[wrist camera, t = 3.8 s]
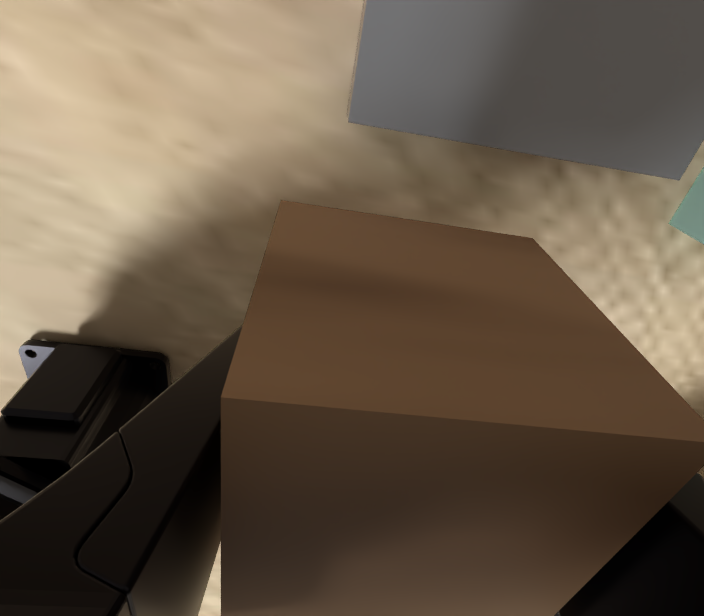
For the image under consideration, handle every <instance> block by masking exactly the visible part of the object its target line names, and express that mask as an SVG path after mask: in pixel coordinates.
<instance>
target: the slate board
mask: <svg viewBox="0 0 704 616" xmlns="http://www.w3.org/2000/svg"><path fill="white" fill-rule="evenodd" d="M347 118H348V122H350V123H356V124H361V125H367V126H373V127H378V128H384V129H390V130H395V131H401V132H407V133H413V134H418V135H424V136H430V137H435V138H441V139H447V140H452V141H458V142H464V143H469V144H475V145H481V146H486V147H492V148H498V149H504V150H509V151H515V152H521V153H526V154H532V155H538V156H543V157H549V158H555V159H560V160H566V161H572V162H577V163H583V164H589V165H595V166H600V167H606V168H612V169H617V170H623V171H629V172H634V173H640V174H646V175H651V176H657V177H663V178H668V179H674V180H680V179H681V177H682V175H683V174H684V172H685V170H686V169H687V167H688V165H689V164H690V162H691V160H692V158H693V157H694V155H695V153H696V152H697V150H698V148H699V147H700V145H701V143H702V142H703V140H704V0H364V3H363V10H362V16H361V23H360V30H359V36H358V43H357V50H356V56H355V63H354V70H353V77H352V83H351V90H350V97H349V103H348V110H347Z"/></svg>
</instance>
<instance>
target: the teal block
mask: <svg viewBox="0 0 704 616" xmlns="http://www.w3.org/2000/svg"><path fill="white" fill-rule="evenodd" d="M669 224H670V225H672V226H673V227H675V228H677V229H678V230H680V231H682V232H683V233H685V234H687V235H689V236H690V237H692V238H694V239H695V240H697V241H699V242H700V243H702V244H704V167H703V169H702V170H701V172H700V174H699V175H698V177H697V178H696V180H695V182H694V183H693V185H692V187H691V188H690V190H689V191H688V193H687V195H686V196H685V198H684V199H683V201H682V203H681V204H680V206H679V208H678V209H677V211H676V212H675V214H674V216H673V217H672V219H671V220H670V222H669Z"/></svg>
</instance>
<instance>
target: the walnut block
mask: <svg viewBox="0 0 704 616" xmlns="http://www.w3.org/2000/svg"><path fill="white" fill-rule="evenodd" d="M703 466H704V420H703V419H702V418H701V417H700V416H699V415H698V414H697V413H696V412H695V411H694V410H693V409H692V408H691V407H690V405H689V404H688V403H687V402H686V401H685V400H684V399H683V398H682V397H681V396H680V395H679V394H678V393H677V392H676V391H675V389H674V388H673V387H672V386H671V385H670V384H669V383H668V382H667V381H666V380H665V379H664V378H663V377H662V376H661V375H660V374H659V372H658V371H657V370H656V369H655V368H654V367H653V366H652V365H651V364H650V363H649V362H648V361H647V360H646V359H645V358H644V356H643V355H642V354H641V353H640V352H639V351H638V350H637V349H636V348H635V347H634V346H633V345H632V344H631V343H630V342H629V340H628V339H627V338H626V337H625V336H624V335H623V334H622V333H621V332H620V331H619V330H618V329H617V328H616V327H615V326H614V325H613V323H612V322H611V321H610V320H609V319H608V318H607V317H606V316H605V315H604V314H603V313H602V312H601V311H600V310H599V309H598V307H597V306H596V305H595V304H594V303H593V302H592V301H591V300H590V299H589V298H588V297H587V296H586V295H585V294H584V293H583V291H582V290H581V289H580V288H579V287H578V286H577V285H576V284H575V283H574V282H573V281H572V280H571V279H570V278H569V277H568V276H567V274H566V273H565V272H564V271H563V270H562V269H561V268H560V267H559V266H558V265H557V264H556V263H555V262H554V261H553V260H552V258H551V257H550V256H549V255H548V254H547V253H546V252H545V251H544V250H543V249H542V248H541V247H540V246H539V245H538V244H537V243H536V241H535V240H534V239H533V238H527V237H521V236H514V235H508V234H501V233H494V232H488V231H481V230H475V229H468V228H461V227H455V226H448V225H441V224H435V223H428V222H422V221H415V220H408V219H402V218H395V217H389V216H382V215H375V214H369V213H362V212H355V211H349V210H342V209H336V208H329V207H322V206H316V205H309V204H302V203H296V202H289V201H283V200H281V202H280V205H279V209H278V212H277V215H276V219H275V222H274V225H273V228H272V232H271V235H270V238H269V241H268V245H267V248H266V251H265V254H264V258H263V261H262V264H261V267H260V271H259V274H258V277H257V281H256V284H255V287H254V290H253V294H252V297H251V300H250V303H249V307H248V310H247V313H246V316H245V320H244V323H243V326H242V329H241V333H240V336H239V339H238V343H237V346H236V349H235V352H234V356H233V359H232V362H231V365H230V369H229V372H228V375H227V378H226V382H225V385H224V388H223V391H222V395H221V616H554V615H555V614H556V613H557V612H558V611H559V610H560V609H561V608H562V607H563V606H564V605H565V604H566V603H567V602H568V601H569V600H570V599H571V598H572V597H573V596H574V595H575V594H576V593H577V592H578V591H579V590H580V589H581V588H582V587H583V586H584V585H585V584H586V583H587V582H588V581H589V580H590V579H591V578H592V577H593V576H594V575H595V574H596V573H597V572H598V571H599V570H600V569H601V568H602V567H603V566H604V565H605V564H606V563H607V562H608V561H609V560H610V559H611V558H612V557H613V556H614V555H615V554H616V553H617V552H618V551H619V550H620V549H621V548H622V547H623V546H624V545H625V544H626V543H627V542H628V541H629V540H630V539H631V538H632V537H633V536H634V535H635V534H636V533H637V532H638V531H639V530H640V529H641V528H642V527H643V526H644V525H645V524H646V523H647V522H648V521H649V520H650V519H651V518H652V517H653V516H654V515H655V514H656V513H657V512H658V511H659V510H660V509H661V508H662V507H663V506H664V505H665V504H666V503H667V502H668V501H669V500H670V499H671V498H672V497H673V496H674V495H675V494H676V493H677V492H678V491H679V490H680V489H681V488H682V487H683V486H684V485H685V484H686V483H687V482H688V481H689V480H690V479H691V478H692V477H693V476H694V475H695V474H696V473H697V472H698V471H699V470H700V469H701V468H702V467H703Z"/></svg>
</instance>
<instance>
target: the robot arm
mask: <svg viewBox="0 0 704 616" xmlns="http://www.w3.org/2000/svg"><path fill="white" fill-rule="evenodd" d="M242 326H243V325H241V326H240V327H239V328H238V329H237V330H236V331H234V332H233V333H232V334H231V335H230V336H229V337H227V338H226V339H225V340H224V341H223V342H221V343H220V344H219V345H218V346H217V347H216V348H214V349H213V350H212V351H211V352H210V353H208V354H207V355H206V356H205V357H204V358H203V359H201V360H200V361H199V362H198V363H197V364H196V365H194V366H193V367H192V368H191V369H190V370H188V371H187V372H186V373H185V374H184V375H183V376H181V377H180V378H179V379H178V380H177V381H175V382H174V383H173V384H172V385H171V377H170V366H169V360H168V358H167V357H166V356H165V355H164V354H162V353H158V352H148V351H138V350H129V349H119V348H109V347H99V346H89V345H79V344H70V343H60V342H50V341H40V340H28V341H26V342H25V343H24V344H23V345H22V346H21V347H20V348H19V354H20V357H21V360H22V363H23V366H24V369H25V372H26V375H27V378H28V380H27V381H26V382H25V383H24V384H23V385H22V387H21V388H20V389H19V390H18V391H17V392H16V393H15V395H14V396H13V397H12V398H11V399H10V400H9V402H8V403H7V404H6V405H5V406H4V407H3V408H2V410H1V413H2V415H1V416H0V616H198V613H199V610H200V607H201V603H202V600H203V597H204V593H205V590H206V587H207V584H208V580H209V577H210V574H211V570H212V567H213V564H214V561H215V557H216V554H217V551H218V547H219V544H220V541H221V395H222V391H223V388H224V385H225V382H226V378H227V375H228V372H229V369H230V365H231V362H232V359H233V356H234V352H235V349H236V346H237V343H238V339H239V336H240V333H241V329H242ZM32 350H33V351H32ZM34 351H35V352H34ZM155 362H158V363H159V364H156V363H155ZM559 614H560V616H704V479H703V477H702V476H701V475H700V474H698V473H696V474H695V475H694V476H693V477H692V478H691V479H690V480H689V481H688V482H687V483H686V484H685V485H684V486H683V487H682V488H681V489H680V490H679V491H678V492H677V493H676V494H675V495H674V496H673V497H672V498H671V499H670V500H669V501H668V502H667V503H666V504H665V505H664V506H663V507H662V508H661V509H660V510H659V511H658V512H657V513H656V514H655V515H654V516H653V517H652V518H651V519H650V520H649V521H648V522H647V523H646V524H645V525H644V526H643V527H642V528H641V529H640V530H639V531H638V532H637V533H636V534H635V535H634V536H633V537H632V538H631V539H630V540H629V541H628V542H627V543H626V544H625V545H624V546H623V547H622V548H621V549H620V550H619V551H618V552H617V553H616V554H615V555H614V556H613V557H612V558H611V559H610V560H609V561H608V562H607V563H606V564H605V565H604V566H603V567H602V568H601V569H600V570H599V571H598V572H597V573H596V574H595V575H594V576H593V577H592V578H591V579H590V580H589V581H588V582H587V583H586V584H585V585H584V586H583V587H582V588H581V589H580V590H579V591H578V592H577V593H576V594H575V595H574V596H573V597H572V598H571V599H570V600H569V601H568V602H567V603H566V604H565V605H564V606H563V607H562V608H561V609H560V610H559Z"/></svg>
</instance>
